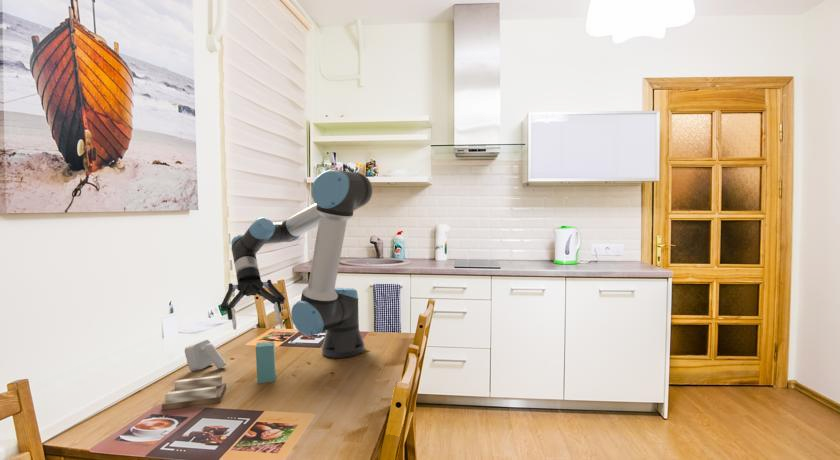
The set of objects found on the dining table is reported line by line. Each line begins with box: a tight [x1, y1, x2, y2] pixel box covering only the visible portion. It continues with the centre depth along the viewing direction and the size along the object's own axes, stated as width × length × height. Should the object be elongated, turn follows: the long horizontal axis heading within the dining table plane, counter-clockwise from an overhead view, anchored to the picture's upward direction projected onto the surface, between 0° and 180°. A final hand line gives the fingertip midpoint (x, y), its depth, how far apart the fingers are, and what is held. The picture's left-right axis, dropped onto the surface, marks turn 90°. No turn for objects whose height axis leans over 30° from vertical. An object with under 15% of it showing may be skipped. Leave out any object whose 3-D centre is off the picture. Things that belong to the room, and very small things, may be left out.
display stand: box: [161, 374, 227, 411], centre depth 121 cm, size 14×10×4 cm
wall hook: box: [184, 339, 227, 372], centre depth 145 cm, size 8×10×10 cm
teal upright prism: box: [255, 340, 277, 384], centre depth 134 cm, size 5×4×11 cm
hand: (257, 324), depth 143 cm, fingers open, 13 cm apart
